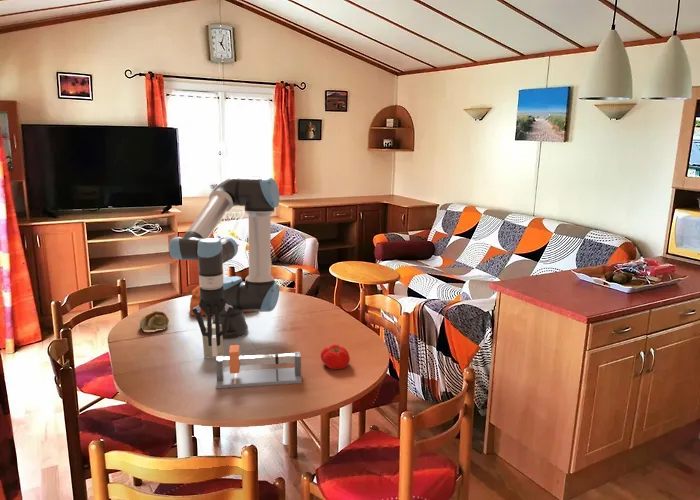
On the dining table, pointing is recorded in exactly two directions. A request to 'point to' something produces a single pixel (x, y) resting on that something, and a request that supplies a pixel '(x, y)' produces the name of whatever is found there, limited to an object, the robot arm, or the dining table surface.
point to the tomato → (335, 357)
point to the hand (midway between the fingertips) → (215, 354)
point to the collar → (234, 359)
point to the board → (259, 378)
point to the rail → (260, 362)
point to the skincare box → (208, 348)
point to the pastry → (154, 321)
